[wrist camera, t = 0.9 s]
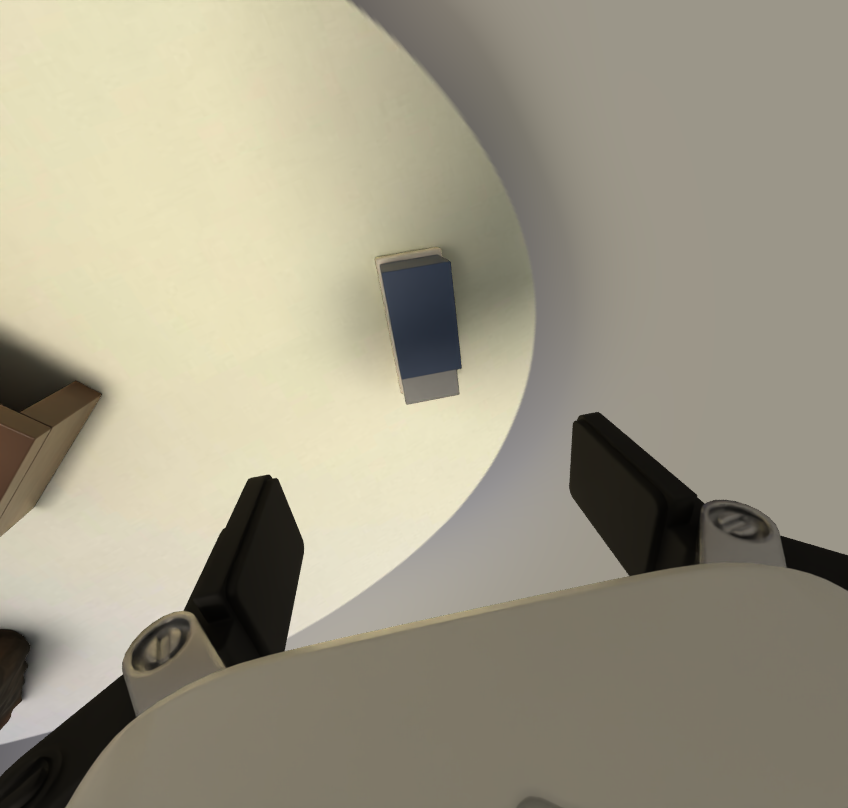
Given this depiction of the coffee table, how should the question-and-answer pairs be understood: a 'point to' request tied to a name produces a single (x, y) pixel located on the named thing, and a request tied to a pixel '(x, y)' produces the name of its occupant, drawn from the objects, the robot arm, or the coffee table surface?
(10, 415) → the low brown table
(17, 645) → the owl
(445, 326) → the stacked block assembly
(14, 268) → the coffee table surface
